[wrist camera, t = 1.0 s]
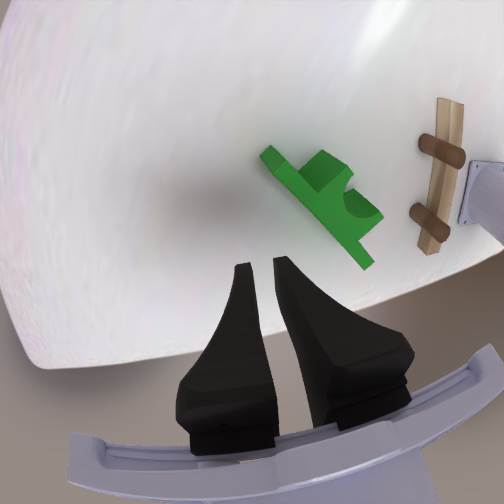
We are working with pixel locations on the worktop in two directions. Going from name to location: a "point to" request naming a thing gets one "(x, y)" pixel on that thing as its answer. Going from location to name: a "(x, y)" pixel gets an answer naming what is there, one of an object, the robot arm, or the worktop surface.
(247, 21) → the worktop surface
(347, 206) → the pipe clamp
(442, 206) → the peg rack
